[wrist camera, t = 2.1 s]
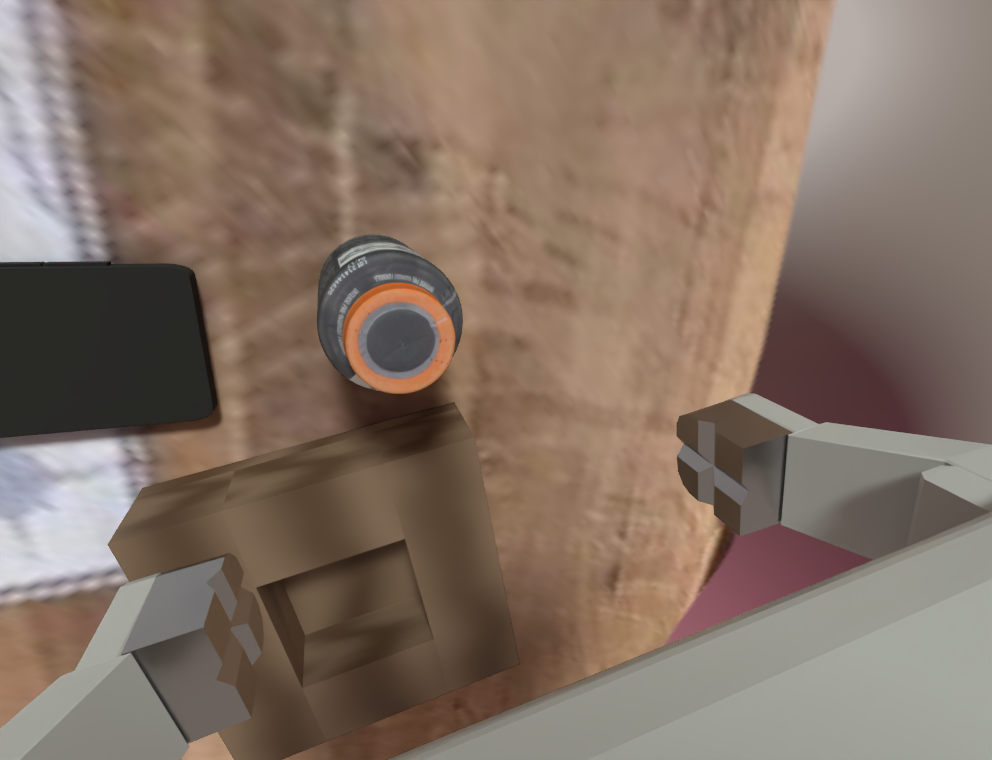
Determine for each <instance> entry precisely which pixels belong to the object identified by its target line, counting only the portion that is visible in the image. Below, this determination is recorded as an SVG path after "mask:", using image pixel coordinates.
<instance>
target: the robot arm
mask: <svg viewBox="0 0 992 760" xmlns="http://www.w3.org/2000/svg"><path fill="white" fill-rule="evenodd" d="M677 437H678V438H679V439H680V440H681V441H682V442H683V443H684V444H683V446H682V448H681V450H680V452H679V454H678V455H677V462H678V472H679V475H680V477H681V480H682V482H683V485H684V486H685V487H686V489H687V490H688V492H689V493H690V494H691V495H692V496H693V497H694V498H696V499H697V500H698V501H700V502H704V503H707V504H711V505H713V506H714V515H715V516H716V517H718V518H719V519H720V520H721V521H722V522H724V523H725V524H726V525H727V526H728V527H729V528H731V529H732V530H733V531H734V532H735V533H737V534H738V535H739V536H742V535H745V534H748V533H751V532H754V531H757V530H760V529H763V528H766V527H769V526H772V525H775V524H778V523H781V525H783V526H786V527H788V528H791V529H794V530H796V531H799V532H802V533H804V534H807V535H810V536H812V537H815V538H818V539H820V540H823V541H825V542H828V543H831V544H833V545H836V546H838V547H841V548H844V549H846V550H849V551H852V552H854V553H857V554H860V555H862V556H865V557H867V558H870V559H873V561H870V562H868V563H865V564H863V565H860V566H858V567H856V568H854V569H851V570H849V571H846V572H843V573H841V574H839V575H836V576H834V577H831V578H829V579H826V580H824V581H822V582H819V583H817V584H814V585H812V586H809V587H807V588H804V589H802V590H799V591H797V592H794V593H792V594H790V595H787V596H785V597H782V598H780V599H777V600H775V601H772V602H770V603H768V604H765V605H763V606H760V607H758V608H756V609H753V610H750V611H748V612H746V613H743V614H741V615H738V616H736V617H733V618H731V619H728V620H726V621H723V622H721V623H718V624H716V625H714V626H711V627H709V628H706V629H704V630H701V631H699V632H696V633H694V634H691V635H689V636H687V637H684V638H682V639H679V640H677V641H674V642H672V643H669V644H667V645H665V646H662V647H660V648H657V649H655V650H652V651H650V652H648V653H645V654H643V655H640V656H638V657H635V658H633V659H630V660H628V661H626V662H623V663H621V664H618V665H616V666H613V667H611V668H609V669H606V670H604V671H601V672H599V673H596V674H594V675H592V676H589V677H587V678H584V679H582V680H579V681H577V682H574V683H572V684H570V685H567V686H565V687H562V688H560V689H557V690H555V691H553V692H550V693H548V694H545V695H543V696H540V697H538V698H535V699H533V700H531V701H528V702H526V703H523V704H521V705H518V706H516V707H514V708H511V709H509V710H506V711H504V712H501V713H499V714H497V715H494V716H492V717H489V718H487V719H484V720H482V721H479V722H477V723H475V724H472V725H470V726H467V727H465V728H462V729H460V730H458V731H455V732H453V733H450V734H448V735H445V736H443V737H440V738H438V739H436V740H433V741H431V742H428V743H426V744H423V745H421V746H419V747H416V748H414V749H411V750H409V751H406V752H404V753H401V754H399V755H397V756H394V757H392V758H389V759H387V760H992V445H989V444H981V443H974V442H966V441H959V440H952V439H945V438H937V437H930V436H923V435H915V434H908V433H901V432H893V431H886V430H878V429H870V428H864V427H856V426H848V425H842V424H834V423H827V422H826V423H823V424H817V423H815V422H813V421H811V420H809V419H806V418H804V417H802V416H800V415H798V414H796V413H794V412H792V411H790V410H788V409H786V408H784V407H781V406H779V405H777V404H775V403H773V402H771V401H769V400H767V399H765V398H763V397H761V396H759V395H757V394H749V393H746V394H744V395H741V396H738V397H735V398H732V399H729V400H726V401H724V402H721V403H718V404H715V405H712V406H709V407H706V408H703V409H700V410H697V411H694V412H691V413H688V414H685V415H682V416H679V419H678V422H677ZM243 575H244V571H243V569H242V567H241V565H240V564H239V562H238V560H237V558H236V556H234V555H232V554H231V553H227V554H224V555H220V556H217V557H213V558H210V559H206V560H203V561H199V562H196V563H192V564H189V565H185V566H182V567H178V568H175V569H171V570H168V571H164V572H163V573H157V574H154V575H150V576H147V577H144V578H141V579H138V580H135V581H131V582H128V583H127V584H125V585H123V586H122V587H120V589H119V590H118V592H117V594H116V596H115V598H114V599H113V601H112V603H111V605H110V607H109V609H108V610H107V612H106V614H105V616H104V618H103V620H102V621H101V623H100V625H99V627H98V629H97V631H96V632H95V634H94V636H93V638H92V640H91V642H90V644H89V645H88V647H87V649H86V651H85V653H84V655H83V656H82V658H81V660H80V662H79V664H78V666H77V667H76V669H75V671H74V672H71V673H68V674H65V675H62V676H61V677H59V678H58V679H57V680H56V681H55V682H54V683H53V684H51V685H50V686H49V687H48V688H47V689H46V690H44V691H43V692H42V693H41V694H40V695H39V696H38V697H36V698H35V699H34V700H33V701H32V702H31V703H29V704H28V705H27V706H26V707H25V708H24V709H22V710H21V711H20V712H19V713H18V714H17V715H16V716H14V717H13V718H12V719H11V720H10V721H9V722H7V723H6V724H5V725H4V726H3V727H2V728H1V729H0V760H181V758H182V757H183V755H184V754H185V752H186V751H187V749H188V748H189V745H188V743H191V742H193V741H196V740H198V739H200V738H203V737H205V736H208V735H210V734H213V733H215V732H218V731H220V730H223V729H225V728H228V727H230V726H233V725H235V724H238V723H240V722H243V721H245V720H248V719H250V718H252V712H253V706H254V699H255V693H256V687H257V681H258V677H257V675H256V673H255V671H254V668H253V666H252V665H253V664H254V662H255V661H256V660H257V659H258V657H259V656H260V655H261V653H262V648H263V640H264V632H263V619H262V615H261V611H260V608H259V604H258V602H257V600H256V597H255V595H254V593H252V592H250V591H248V590H246V589H244V588H242V587H241V583H242V579H243Z"/></svg>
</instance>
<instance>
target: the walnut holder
mask: <svg viewBox="0 0 992 760" xmlns="http://www.w3.org/2000/svg"><path fill="white" fill-rule="evenodd" d="M108 546H109V548H110V549H111V551H112V553H113V555H114V556H115V558H116V560H117V561H118V563H119V565H120V566H121V568H122V570H123V572H124V573H125V575H126V577H127V578H128V580H129V582H131V581H135V580H138V579H141V578H144V577H147V576H150V575H154V574H157V573H163V572H164V571H168V570H171V569H175V568H178V567H182V566H185V565H189V564H192V563H196V562H199V561H203V560H206V559H210V558H213V557H217V556H220V555H224V554H227V553H231V554H232V555H234V556H236V558H237V560H238V562H239V564H240V565H241V567H242V569H243V571H244V575H243V579H242V583H241V587H242V588H244V589H246V590H248V591H250V592H252V593H254V595H255V597H256V600H257V602H258V604H259V608H260V611H261V615H262V619H263V632H264V640H263V648H262V653H261V655H260V656H259V657H258V659H257V660H256V661H255V662H254V664H253V665H252V666H253V668H254V671H255V673H256V675H257V677H258V681H257V687H256V693H255V699H254V706H253V712H252V718H250V719H248V720H245V721H243V722H240V723H238V724H235V725H233V726H230V727H228V728H225V729H223V730H220V731H218V733H219V735H220V737H221V738H222V740H223V742H224V743H225V745H226V747H227V749H228V750H229V752H230V754H231V755H232V757H233V759H234V760H282V759H284V758H287V757H289V756H292V755H294V754H297V753H299V752H302V751H304V750H307V749H309V748H312V747H314V746H317V745H319V744H322V743H324V742H327V741H329V740H332V739H334V738H337V737H339V736H342V735H344V734H347V733H349V732H352V731H354V730H357V729H359V728H362V727H364V726H367V725H369V724H372V723H374V722H376V721H379V720H381V719H384V718H386V717H389V716H391V715H394V714H396V713H399V712H401V711H404V710H406V709H409V708H411V707H414V706H416V705H419V704H421V703H424V702H426V701H429V700H431V699H434V698H436V697H439V696H441V695H444V694H446V693H449V692H451V691H454V690H456V689H459V688H461V687H464V686H466V685H469V684H471V683H474V682H476V681H479V680H481V679H484V678H486V677H489V676H491V675H494V674H496V673H499V672H501V671H504V670H506V669H509V668H511V667H514V666H516V665H519V664H520V663H519V658H518V653H517V648H516V643H515V638H514V633H513V628H512V623H511V618H510V613H509V608H508V603H507V598H506V593H505V588H504V583H503V578H502V573H501V568H500V563H499V558H498V553H497V548H496V543H495V538H494V533H493V528H492V523H491V518H490V513H489V507H488V502H487V497H486V492H485V487H484V482H483V477H482V472H481V467H480V462H479V457H478V452H477V447H476V442H475V437H474V436H473V434H472V432H471V430H470V429H469V427H468V425H467V424H466V422H465V420H464V418H463V417H462V415H461V413H460V412H459V410H458V408H457V406H456V405H455V403H454V402H453V403H450V404H446V405H443V406H439V407H435V408H432V409H428V410H424V411H421V412H417V413H413V414H410V415H406V416H403V417H399V418H395V419H392V420H388V421H384V422H381V423H377V424H373V425H370V426H366V427H363V428H359V429H355V430H352V431H348V432H344V433H341V434H337V435H333V436H330V437H326V438H323V439H319V440H315V441H312V442H308V443H304V444H301V445H297V446H293V447H290V448H286V449H283V450H279V451H275V452H272V453H268V454H264V455H261V456H257V457H253V458H250V459H246V460H243V461H239V462H235V463H232V464H228V465H224V466H221V467H217V468H213V469H210V470H206V471H203V472H199V473H195V474H192V475H188V476H184V477H181V478H177V479H173V480H170V481H166V482H163V483H159V484H155V485H152V486H148V487H144V488H142V490H141V491H140V493H139V495H138V496H137V498H136V499H135V501H134V503H133V504H132V506H131V508H130V509H129V511H128V512H127V514H126V516H125V517H124V519H123V521H122V522H121V524H120V525H119V527H118V529H117V530H116V532H115V534H114V535H113V537H112V538H111V540H110V542H109V543H108Z"/></svg>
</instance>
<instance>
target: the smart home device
mask: <svg viewBox="0 0 992 760" xmlns="http://www.w3.org/2000/svg"><path fill="white" fill-rule="evenodd" d="M216 405H217V399H216V393H215V388H214V382H213V376H212V370H211V365H210V359H209V353H208V347H207V342H206V336H205V330H204V325H203V319H202V313H201V307H200V302H199V296H198V290H197V285H196V279H195V273H194V272H193V270H191V269H190V268H187V267H185V266H181V265H176V264H111V261H108V262H47V263H45V262H0V438H4V437H15V436H26V435H38V434H49V433H60V432H72V431H83V430H94V429H106V428H117V427H128V426H140V425H151V424H162V423H174V422H185V421H194V420H199V419H202V418H205V417H208V416H209V415H211V414H212V413H213V411H214V409H215V407H216Z"/></svg>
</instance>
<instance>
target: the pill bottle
mask: <svg viewBox="0 0 992 760" xmlns="http://www.w3.org/2000/svg"><path fill="white" fill-rule="evenodd" d="M462 324H463V317H462V309H461V304H460V300H459V297H458V295H457V293H456V291H455V289H454V287H453V285H452V284H451V282H450V281H449V280H448V278H447V277H446V276H445V274H444V273H443V272H442V271H441V270H440V269H438V268H437V267H436V266H434V265H433V264H432V263H430V262H429V261H427V260H426V259H425V258H423V257H422V256H420V255H419V254H417V253H416V252H415V251H413V250H412V249H411V248H409V247H408V246H406V245H405V244H404V243H402V242H400V241H398V240H396V239H393V238H391V237H386V236H381V235H364V236H359V237H355V238H353V239H350V240H348V241H346V242H345V243H343V244H341V245H340V246H339V247H337V248H336V249H335V250H334V251H333V252H332V253H331V254H330V256H329V257H328V259H327V260H326V262H325V264H324V266H323V268H322V270H321V274H320V279H319V286H318V310H317V329H318V335H319V339H320V343H321V345H322V348H323V350H324V352H325V354H326V356H327V357H328V359H329V360H330V362H331V363H332V365H333V366H334V367H335V368H336V369H337V370H338V371H339V372H340V373H341V374H342V375H343V376H345V377H346V378H347V379H349V380H351V381H352V382H354V383H356V384H358V385H360V386H363V387H365V388H369V389H372V390H377V391H382V392H386V393H391V394H408V393H413V392H416V391H419V390H421V389H424V388H426V387H428V386H429V385H431V384H432V383H434V382H435V381H436V380H437V379H438V378H439V377H440V376H441V375H442V374H443V373H444V372H445V371H446V369H447V368H448V366H449V364H450V362H451V359H452V357H453V355H454V353H455V352H456V350H457V347H458V344H459V342H460V338H461V334H462Z"/></svg>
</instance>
